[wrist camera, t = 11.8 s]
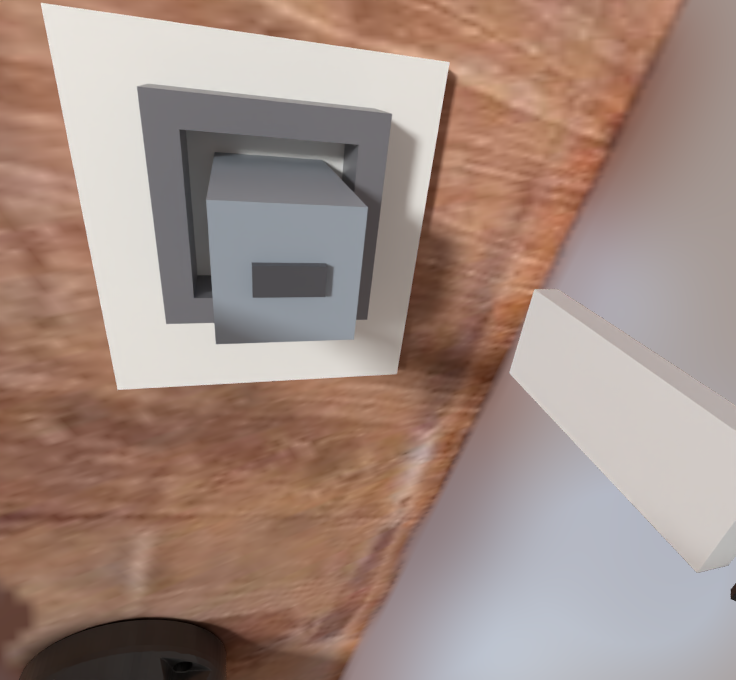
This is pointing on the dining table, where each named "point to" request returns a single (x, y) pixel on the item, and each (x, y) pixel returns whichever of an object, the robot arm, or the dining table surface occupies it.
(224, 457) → the dining table surface
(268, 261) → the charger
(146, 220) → the charging dock
